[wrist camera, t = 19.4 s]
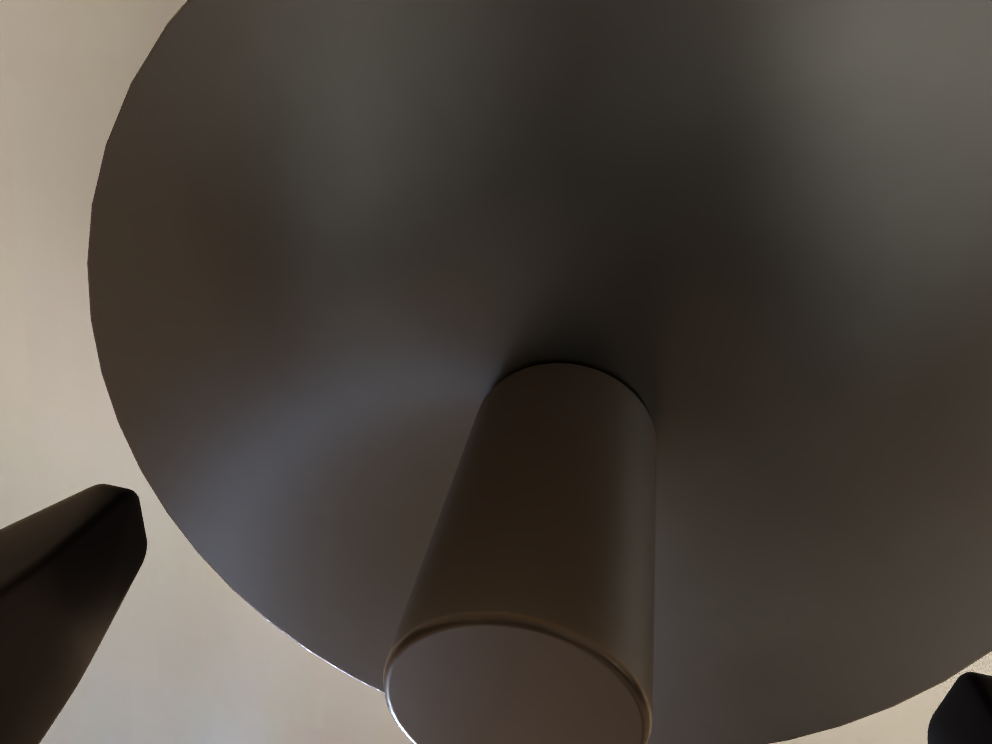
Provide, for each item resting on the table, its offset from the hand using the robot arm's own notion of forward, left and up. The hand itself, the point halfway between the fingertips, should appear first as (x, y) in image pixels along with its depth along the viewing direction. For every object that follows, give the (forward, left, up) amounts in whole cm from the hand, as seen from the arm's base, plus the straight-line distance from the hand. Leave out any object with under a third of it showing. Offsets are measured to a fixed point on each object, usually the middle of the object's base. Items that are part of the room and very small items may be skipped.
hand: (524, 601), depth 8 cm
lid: (0, 0, -4) cm, 4 cm away
